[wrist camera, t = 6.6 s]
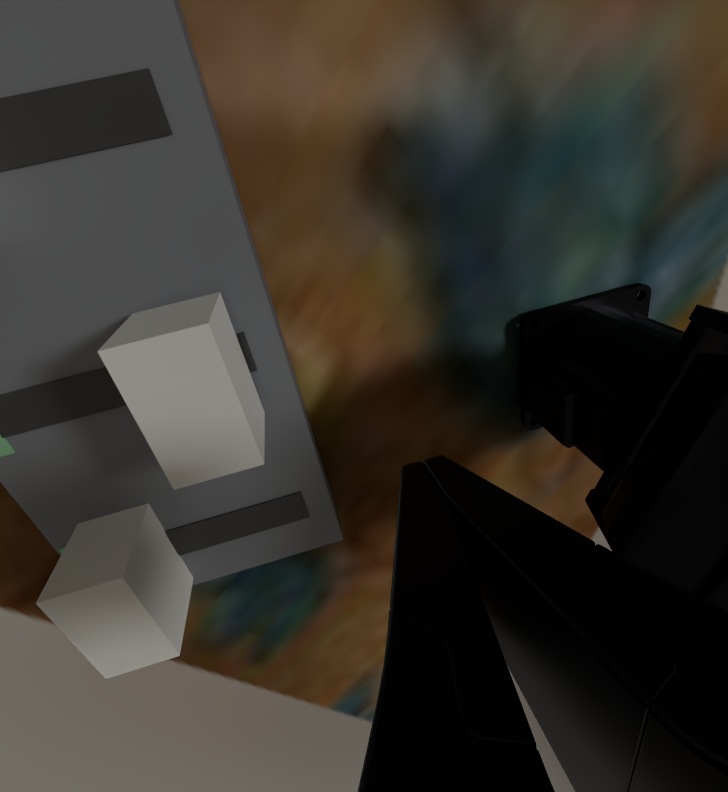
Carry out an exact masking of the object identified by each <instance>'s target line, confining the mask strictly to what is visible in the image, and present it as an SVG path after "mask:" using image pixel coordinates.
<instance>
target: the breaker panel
mask: <svg viewBox="0 0 728 792" xmlns="http://www.w3.org/2000/svg"><path fill="white" fill-rule="evenodd" d="M217 292H220V293H221V296H222V299H223V301H224V304H225V307H226V309H227V312H228V315H229V318H230V320H231V323H232V326H233V328H234V331H235V334H236V336H237V339H238V342H239V345H240V347H241V350H242V353H243V355H244V358H245V361H246V364H247V366H248V369H249V372H250V374H251V377H252V380H253V383H254V385H255V388H256V391H257V393H258V396H259V399H260V401H261V404H262V407H263V410H264V412H265V444H264V465H260V466H257V467H253V468H250V469H246V470H243V471H239V472H236V473H232V474H229V475H225V476H222V477H218V478H215V479H211V480H208V481H204V482H201V483H197V484H194V485H190V486H187V487H183V488H179V489H176V490H174V489H173V487H172V486H171V484H170V482H169V480H168V478H167V477H166V475H165V473H164V471H163V469H162V468H161V466H160V464H159V462H158V460H157V459H156V457H155V455H154V453H153V451H152V449H151V448H150V446H149V444H148V442H147V440H146V439H145V437H144V435H143V433H142V431H141V430H140V428H139V426H138V424H137V422H136V421H135V419H134V417H133V415H132V413H131V412H130V410H129V408H128V406H127V404H126V402H125V401H124V399H123V397H122V395H121V393H120V392H119V390H118V388H117V386H116V384H115V383H114V381H113V379H112V377H111V375H110V374H109V372H108V370H107V368H106V366H105V365H104V363H103V361H102V359H101V357H100V355H99V354H98V352H97V351H98V350H99V349H100V348H101V347H102V346H103V345H104V344H105V343H106V341H107V340H108V339H109V338H110V337H111V336H112V335H113V334H114V333H115V332H116V331H117V330H118V329H119V327H120V326H121V325H122V324H123V323H124V322H125V321H126V320H127V319H128V318H129V317H130V316H131V315H132V314H133V313H137V312H141V311H145V310H149V309H153V308H157V307H161V306H165V305H169V304H173V303H177V302H181V301H185V300H189V299H193V298H197V297H201V296H205V295H209V294H213V293H217ZM0 482H1V484H2V485H3V486H4V487H5V489H6V490H7V491H8V492H9V493H10V495H11V496H12V497H13V498H14V500H15V501H16V502H17V503H18V505H19V506H20V507H21V508H22V509H23V511H24V512H25V513H26V514H27V516H28V517H29V518H30V519H31V521H32V522H33V523H34V524H35V526H36V527H37V528H38V529H39V530H40V532H41V533H42V534H43V535H44V537H45V538H46V539H47V540H48V542H49V543H50V544H51V545H52V546H53V548H54V549H55V550H56V551H57V553H58V554H59V555H60V556H61V557H60V559H59V560H58V562H57V564H56V566H55V568H54V570H53V572H52V574H51V576H50V577H49V579H48V581H47V583H46V585H45V587H44V589H43V591H42V592H41V594H40V596H39V598H38V600H37V602H36V604H37V606H38V607H39V608H40V609H41V610H42V611H43V612H44V613H45V614H46V615H47V616H48V617H49V618H50V620H51V621H52V622H53V623H54V624H55V625H56V626H57V627H58V628H59V629H60V630H61V631H62V632H63V633H64V635H65V636H66V637H67V638H68V639H69V640H70V641H71V642H72V643H73V644H74V645H75V646H76V648H78V650H79V651H80V652H81V653H82V654H83V655H84V656H85V657H86V658H87V659H88V660H89V662H90V663H91V664H92V665H93V666H94V667H95V668H96V669H97V670H98V671H99V672H100V673H101V674H102V675H103V677H104V678H105V679H108V678H111V677H114V676H117V675H121V674H123V673H127V672H130V671H133V670H136V669H140V668H143V667H146V666H149V665H152V664H155V663H159V662H162V661H165V660H168V659H171V658H174V657H178V656H180V651H181V646H182V640H183V634H184V629H185V623H186V617H187V612H188V606H189V600H190V595H191V589H192V586H193V585H196V584H200V583H203V582H206V581H209V580H213V579H216V578H219V577H223V576H226V575H229V574H233V573H236V572H239V571H242V570H246V569H249V568H252V567H256V566H259V565H262V564H265V563H269V562H272V561H275V560H279V559H282V558H285V557H289V556H292V555H295V554H298V553H302V552H305V551H308V550H312V549H315V548H318V547H321V546H325V545H328V544H331V543H335V542H338V541H341V540H344V539H343V535H342V530H341V525H340V521H339V516H338V512H337V508H336V505H335V502H334V499H333V496H332V492H331V489H330V486H329V483H328V480H327V476H326V473H325V470H324V467H323V463H322V460H321V457H320V454H319V451H318V447H317V444H316V441H315V438H314V435H313V431H312V428H311V425H310V422H309V419H308V415H307V412H306V409H305V406H304V402H303V399H302V396H301V393H300V390H299V386H298V383H297V380H296V377H295V374H294V370H293V367H292V364H291V361H290V358H289V354H288V351H287V348H286V345H285V342H284V338H283V335H282V332H281V329H280V325H279V322H278V319H277V316H276V313H275V309H274V306H273V303H272V300H271V297H270V293H269V290H268V287H267V284H266V281H265V277H264V274H263V271H262V268H261V264H260V261H259V258H258V255H257V252H256V248H255V245H254V242H253V239H252V236H251V232H250V229H249V226H248V223H247V220H246V216H245V213H244V210H243V207H242V204H241V200H240V197H239V194H238V191H237V187H236V184H235V181H234V178H233V175H232V171H231V168H230V165H229V162H228V159H227V155H226V152H225V149H224V146H223V143H222V139H221V136H220V133H219V130H218V126H217V123H216V120H215V117H214V114H213V110H212V107H211V104H210V101H209V98H208V94H207V91H206V88H205V85H204V82H203V78H202V75H201V72H200V69H199V66H198V62H197V59H196V56H195V53H194V49H193V46H192V43H191V40H190V37H189V33H188V30H187V27H186V24H185V21H184V17H183V14H182V11H181V8H180V5H179V1H178V0H0Z"/></svg>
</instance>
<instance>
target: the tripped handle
mask: <svg viewBox="0 0 728 792" xmlns="http://www.w3.org/2000/svg"><path fill="white" fill-rule="evenodd" d="M97 352H98V354H99V355H100V357H101V359H102V361H103V363H104V365H105V366H106V368H107V370H108V372H109V374H110V375H111V377H112V379H113V381H114V383H115V384H116V386H117V388H118V390H119V392H120V393H121V395H122V397H123V399H124V401H125V402H126V404H127V406H128V408H129V410H130V412H131V413H132V415H133V417H134V419H135V421H136V422H137V424H138V426H139V428H140V430H141V431H142V433H143V435H144V437H145V439H146V440H147V442H148V444H149V446H150V448H151V449H152V451H153V453H154V455H155V457H156V459H157V460H158V462H159V464H160V466H161V468H162V469H163V471H164V473H165V475H166V477H167V478H168V480H169V482H170V484H171V486H172V487H173V489H174V490H176V489H179V488H183V487H187V486H190V485H194V484H197V483H201V482H204V481H208V480H211V479H215V478H218V477H222V476H225V475H229V474H232V473H236V472H239V471H243V470H246V469H250V468H253V467H257V466H260V465H264V444H265V412H264V410H263V407H262V404H261V401H260V399H259V396H258V393H257V391H256V388H255V385H254V383H253V380H252V377H251V374H250V372H249V369H248V366H247V364H246V361H245V358H244V355H243V353H242V350H241V347H240V345H239V342H238V339H237V336H236V334H235V331H234V328H233V326H232V323H231V320H230V318H229V315H228V312H227V309H226V307H225V304H224V301H223V299H222V296H221V293H220V292H217V293H213V294H209V295H205V296H201V297H197V298H193V299H189V300H185V301H181V302H177V303H173V304H169V305H165V306H161V307H157V308H153V309H149V310H145V311H141V312H137V313H133V314H132V315H131V316H130V317H129V318H128V319H127V320H126V321H125V322H124V323H123V324H122V325H121V326H120V327H119V329H118V330H117V331H116V332H115V333H114V334H113V335H112V336H111V337H110V338H109V339H108V340H107V341H106V343H105V344H104V345H103V346H102V347H101V348H100V349H99V350H98V351H97Z"/></svg>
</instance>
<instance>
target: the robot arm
mask: <svg viewBox="0 0 728 792" xmlns="http://www.w3.org/2000/svg"><path fill="white" fill-rule="evenodd" d="M639 292H640V294H639V296H638V297H637V294H638V293H639ZM650 297H651V288H650V287H649V286H648V285H645V284H642V283H636V284H632V285H628V286H624V287H621V288H617V289H613V290H609V291H606V292H602V293H598V294H595V295H591V296H587V297H583V298H580V299H576V300H572V301H568V302H565V303H561V304H557V305H554V306H550V307H546V308H542V309H539V310H535V311H531V312H528V313H526V314H525V315H524V316H523V317H522V318H521V320H520V358H519V360H518V362H517V372H518V404H519V405H520V406H521V422H522V424H523V425H524V426H525V427H526V428H527V429H529V430H534V429H537V428H541V427H544V428H545V429H546V430H547V431H548V432H549V433H550V434H551V435H553V436H554V437H555V438H556V439H557V440H558V441H559V442H560V443H561V444H562V445H564V446H566V447H567V448H571V447H574V446H575V447H576V448H577V449H579V450H580V451H581V452H582V453H583V454H584V455H585V456H586V457H588V458H589V459H590V460H591V461H592V462H593V463H594V464H595V465H597V466H598V467H599V468H600V469H601V470H602V471H604V473H603V474H602V476H601V478H600V480H599V481H598V483H597V485H596V487H595V488H594V489H591V490H590V492H589V494H588V495H587V497H586V499H585V501H586V503H587V505H588V507H589V509H590V511H591V513H592V514H593V516H594V518H595V520H596V522H597V524H598V526H599V527H600V529H601V531H602V533H603V535H604V536H605V538H606V540H607V542H608V544H609V546H610V548H611V549H612V551H610V550H608V549H607V548H605V547H603V546H601V545H599V544H598V545H596V546H595V542H594V541H592V540H590V539H589V538H587V537H585V536H583V535H582V534H580V533H578V532H576V531H575V530H573V529H571V528H569V527H568V526H566V525H564V524H562V523H561V522H559V521H557V520H555V519H554V518H552V517H550V516H548V515H547V514H545V513H543V512H541V511H539V510H538V509H536V508H534V507H532V506H531V505H529V504H527V503H525V502H524V501H522V500H520V499H518V498H517V497H515V496H513V495H511V494H510V493H508V492H506V491H504V490H503V489H501V488H499V487H497V486H496V485H494V484H492V483H490V482H488V481H487V480H485V479H483V478H481V477H480V476H478V475H476V474H474V473H473V472H471V471H469V470H467V469H466V468H464V467H462V466H460V465H459V464H457V463H455V462H453V461H452V460H450V459H448V458H446V457H445V456H442V455H439V456H435V457H432V458H428V459H425V460H424V461H423V462H414V463H411V464H407V465H404V466H403V467H402V468H401V476H400V489H399V501H398V513H397V526H396V538H395V550H394V563H393V575H392V588H391V600H390V609H391V610H390V611H389V621H388V633H387V641H386V650H385V658H384V666H383V672H382V677H381V683H380V688H379V694H378V699H377V705H376V709H375V714H374V719H373V723H372V728H371V733H370V737H369V742H368V747H367V751H366V756H365V761H364V766H363V770H362V775H361V779H360V784H359V788H358V792H555V791H554V789H553V787H552V784H551V782H550V779H549V777H548V775H547V772H546V769H545V767H544V764H543V762H542V759H541V756H540V754H539V752H538V750H537V749H536V742H535V740H534V737H533V734H532V732H531V729H530V726H529V723H528V721H527V718H526V715H525V713H524V710H523V708H522V705H521V702H520V699H519V697H518V694H517V691H516V689H515V686H514V683H513V680H512V677H511V675H510V672H509V669H510V671H511V673H512V675H513V676H514V679H515V680H516V682H517V684H518V686H519V687H520V690H521V691H522V693H523V695H524V697H525V699H526V701H527V702H528V705H529V706H530V708H531V710H532V712H533V714H534V716H535V718H536V719H537V721H538V723H539V725H540V727H541V729H542V730H543V732H544V734H545V736H546V738H547V740H548V742H549V744H550V745H551V747H552V749H553V751H554V753H555V755H556V756H557V758H558V760H559V762H560V764H561V766H562V768H563V769H564V771H565V773H566V775H567V777H568V779H569V781H570V782H571V784H572V786H573V788H574V790H575V792H728V312H725V311H721V310H717V309H713V308H709V307H705V306H701V305H696V307H695V309H694V310H693V312H692V314H691V316H690V317H689V319H690V320H691V322H690V324H689V325H688V327H687V329H686V330H685V332H683V331H681V330H678V329H676V328H673V327H670V326H668V325H665V324H663V323H660V322H657V321H655V320H652V319H650V318H648V312H649V304H650ZM532 320H534V324H533V325H532V326H531V327H529V323H530V322H531V321H532ZM532 418H534V419H533V420H532V421H531V422H530V420H531V419H532ZM507 666H508V667H509V669H508V667H507Z"/></svg>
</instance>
